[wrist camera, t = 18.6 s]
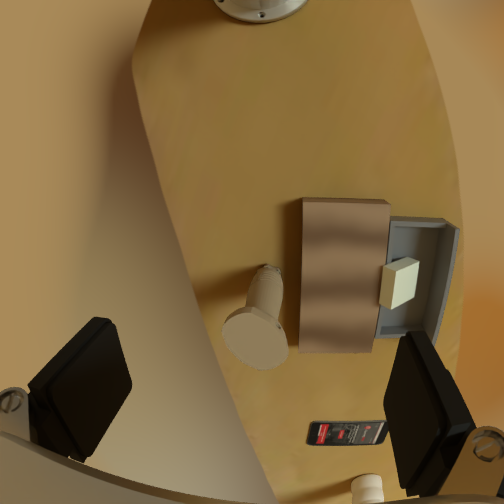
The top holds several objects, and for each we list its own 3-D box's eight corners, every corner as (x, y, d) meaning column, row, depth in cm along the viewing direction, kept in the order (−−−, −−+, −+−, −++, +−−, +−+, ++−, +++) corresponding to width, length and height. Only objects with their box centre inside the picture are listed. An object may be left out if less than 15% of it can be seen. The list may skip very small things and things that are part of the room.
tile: (383, 266, 36) (396, 271, 34) (407, 256, 38) (419, 261, 36) (378, 303, 37) (390, 309, 36) (402, 291, 39) (414, 297, 38)
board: (302, 197, 38) (302, 202, 35) (384, 199, 36) (390, 204, 34) (298, 340, 44) (298, 352, 42) (367, 340, 43) (371, 352, 40)
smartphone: (311, 422, 49) (393, 420, 48) (311, 419, 50) (392, 418, 48) (306, 445, 52) (382, 444, 50) (306, 442, 53) (381, 441, 51)
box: (385, 215, 37) (396, 226, 32) (442, 218, 36) (459, 229, 31) (371, 328, 42) (378, 349, 38) (423, 326, 41) (434, 346, 37)
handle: (269, 244, 40) (254, 303, 26) (299, 283, 41) (298, 355, 27) (239, 265, 42) (210, 330, 28) (269, 302, 43) (256, 377, 29)
